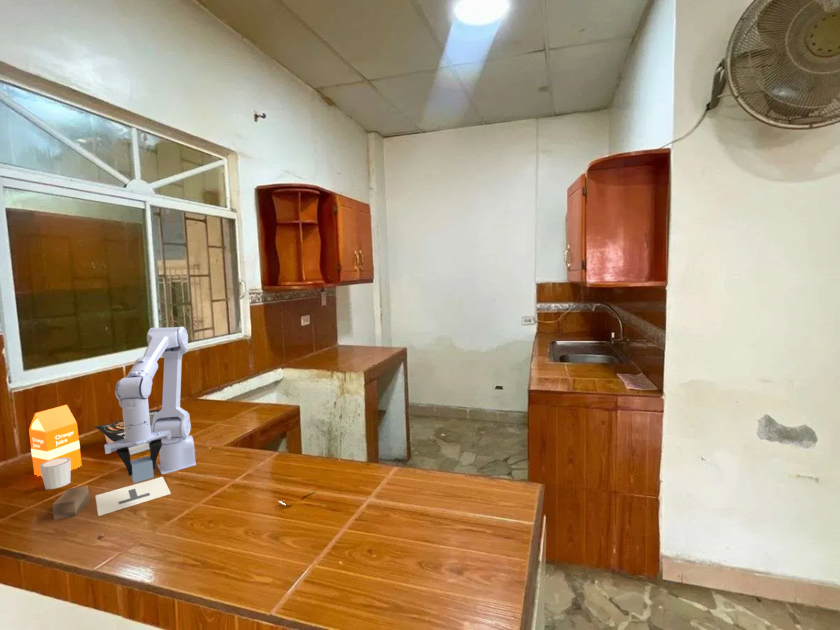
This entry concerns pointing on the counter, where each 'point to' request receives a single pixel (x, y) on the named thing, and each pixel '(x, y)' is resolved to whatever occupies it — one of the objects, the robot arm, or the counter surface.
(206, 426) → the counter surface
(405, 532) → the counter surface
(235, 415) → the counter surface
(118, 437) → the food packaging
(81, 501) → the walnut bar
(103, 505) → the letter mat
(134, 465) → the blue cube
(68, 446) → the orange juice
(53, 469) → the white cup
